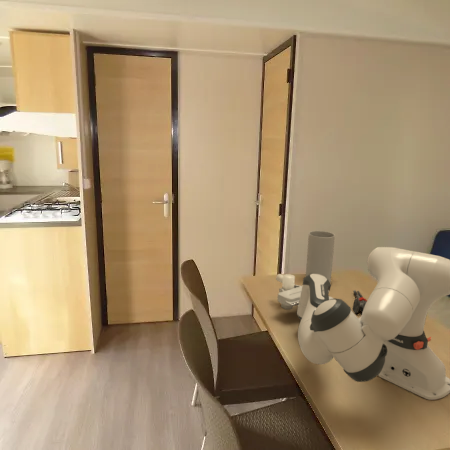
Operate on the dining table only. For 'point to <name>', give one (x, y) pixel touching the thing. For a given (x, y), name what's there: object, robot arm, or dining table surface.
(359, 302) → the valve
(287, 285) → the cream peg
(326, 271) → the cylinder vase
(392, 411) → the dining table surface
